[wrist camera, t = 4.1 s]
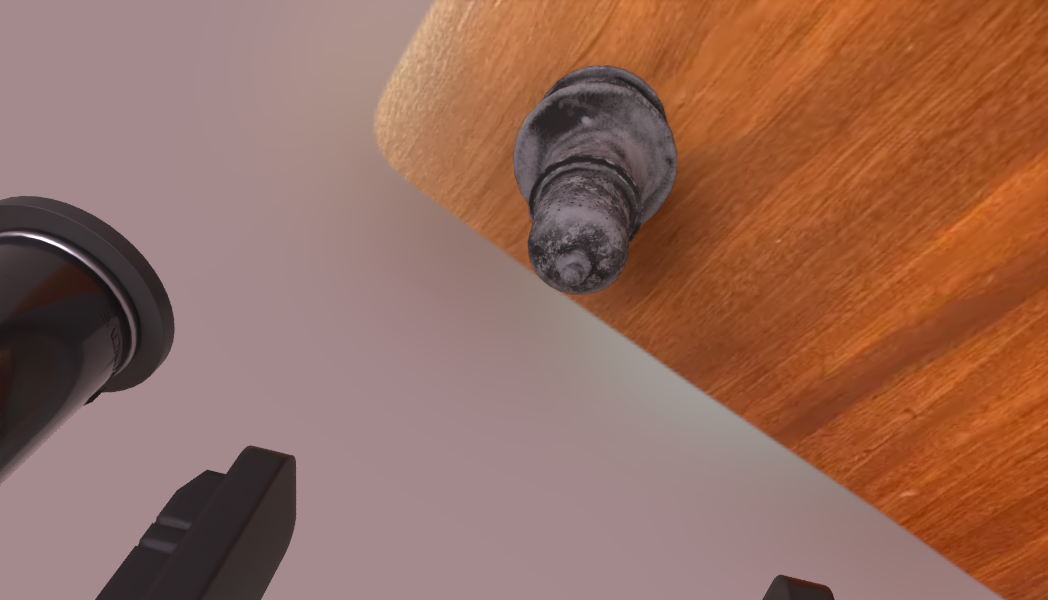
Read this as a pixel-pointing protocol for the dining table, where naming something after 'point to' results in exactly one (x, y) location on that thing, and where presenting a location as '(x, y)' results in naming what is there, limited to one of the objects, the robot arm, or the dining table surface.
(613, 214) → the salt shaker
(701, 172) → the dining table surface
